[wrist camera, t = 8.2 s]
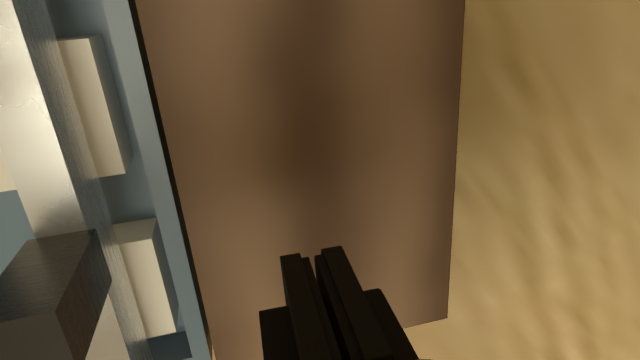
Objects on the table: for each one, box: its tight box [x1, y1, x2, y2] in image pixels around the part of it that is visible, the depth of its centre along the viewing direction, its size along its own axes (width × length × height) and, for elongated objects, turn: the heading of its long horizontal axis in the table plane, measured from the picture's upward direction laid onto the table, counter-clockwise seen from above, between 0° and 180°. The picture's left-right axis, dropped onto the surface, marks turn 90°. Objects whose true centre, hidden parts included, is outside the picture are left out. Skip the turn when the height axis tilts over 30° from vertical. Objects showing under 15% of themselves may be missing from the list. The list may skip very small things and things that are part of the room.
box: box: [0, 0, 212, 360], centre depth 18 cm, size 11×18×2 cm, turn 3°
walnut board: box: [135, 0, 465, 360], centre depth 20 cm, size 12×18×3 cm, turn 3°
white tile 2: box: [113, 217, 179, 338], centre depth 19 cm, size 5×5×2 cm
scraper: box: [0, 0, 153, 360], centre depth 13 cm, size 2×16×7 cm, turn 3°
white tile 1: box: [0, 34, 133, 192], centre depth 16 cm, size 5×5×2 cm
